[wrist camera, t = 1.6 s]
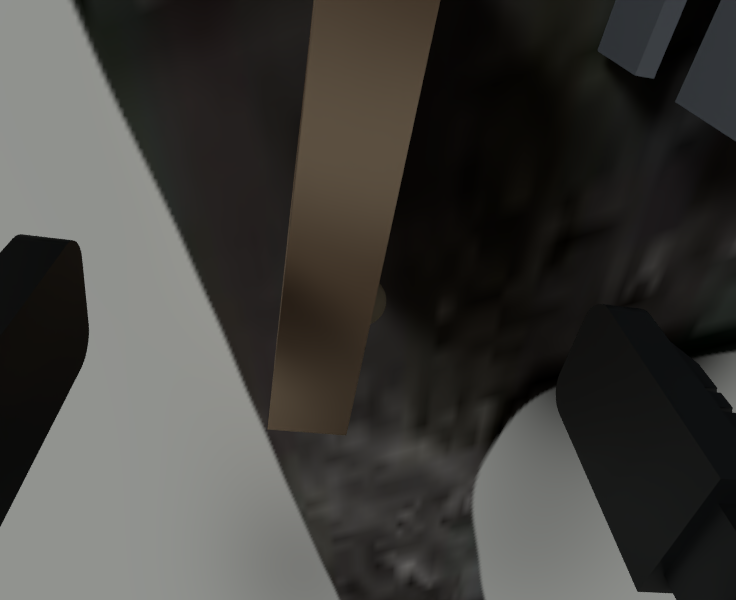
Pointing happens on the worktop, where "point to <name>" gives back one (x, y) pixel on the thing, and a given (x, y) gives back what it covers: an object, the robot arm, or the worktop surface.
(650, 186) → the worktop surface
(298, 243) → the walnut door
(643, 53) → the slate cabinet
